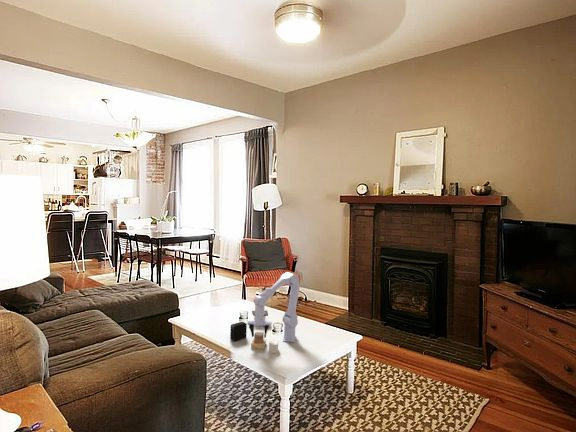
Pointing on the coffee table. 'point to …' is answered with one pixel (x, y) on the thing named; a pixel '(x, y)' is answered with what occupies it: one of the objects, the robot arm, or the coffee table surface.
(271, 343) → the grey cube
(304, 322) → the coffee table surface
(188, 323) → the coffee table surface
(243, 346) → the coffee table surface
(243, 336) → the electronic device
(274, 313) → the coffee table surface
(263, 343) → the oak base
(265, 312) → the oil diffuser
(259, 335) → the walnut cube
